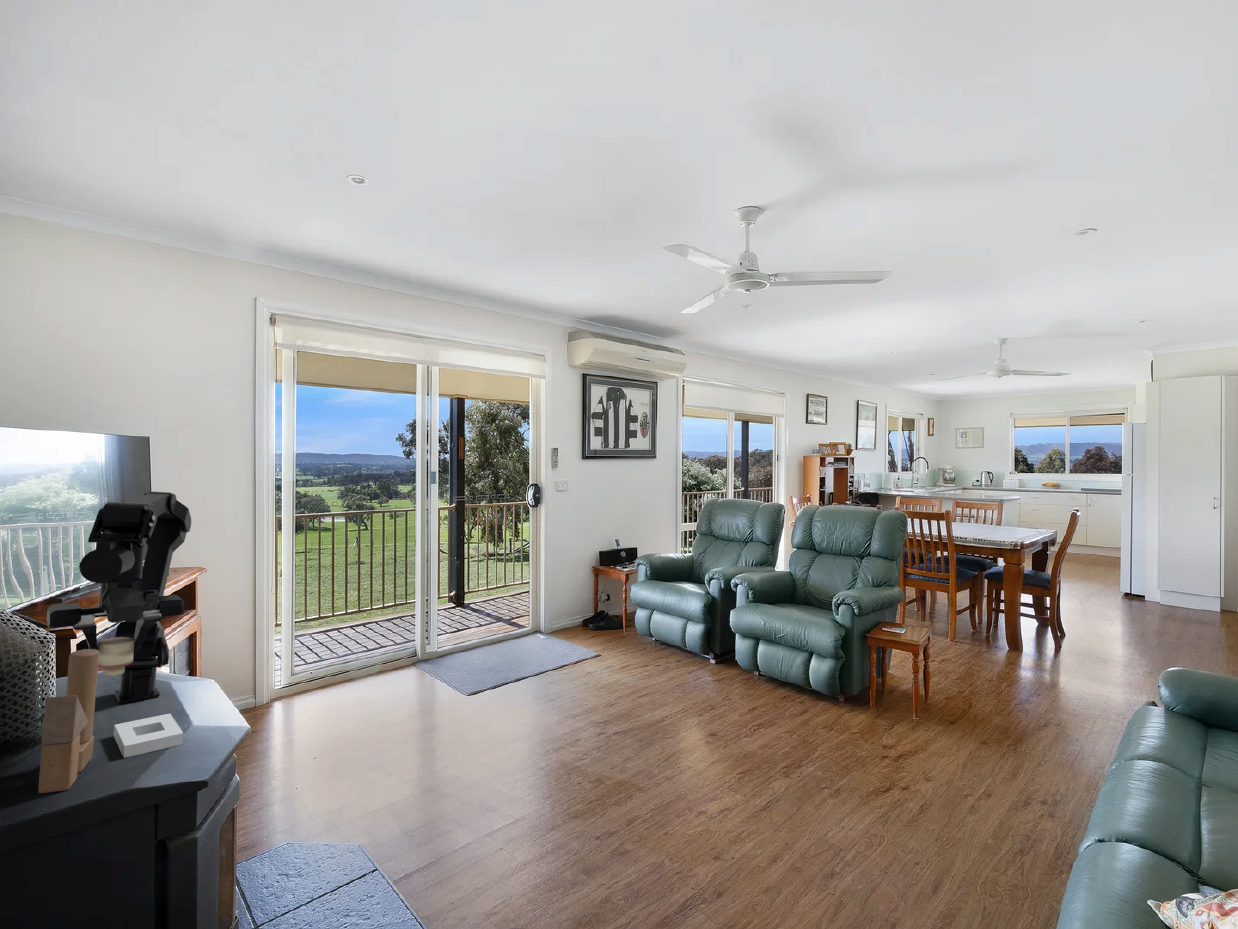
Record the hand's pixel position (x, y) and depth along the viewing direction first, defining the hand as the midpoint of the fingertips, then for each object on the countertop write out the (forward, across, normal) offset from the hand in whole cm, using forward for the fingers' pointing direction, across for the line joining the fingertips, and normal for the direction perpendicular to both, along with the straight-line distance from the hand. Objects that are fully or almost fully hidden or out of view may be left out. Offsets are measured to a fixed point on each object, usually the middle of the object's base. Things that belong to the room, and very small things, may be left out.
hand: (114, 657), depth 109 cm
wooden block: (+13, -7, -16) cm, 22 cm away
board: (+12, +4, -10) cm, 16 cm away
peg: (+3, 0, 0) cm, 3 cm away
